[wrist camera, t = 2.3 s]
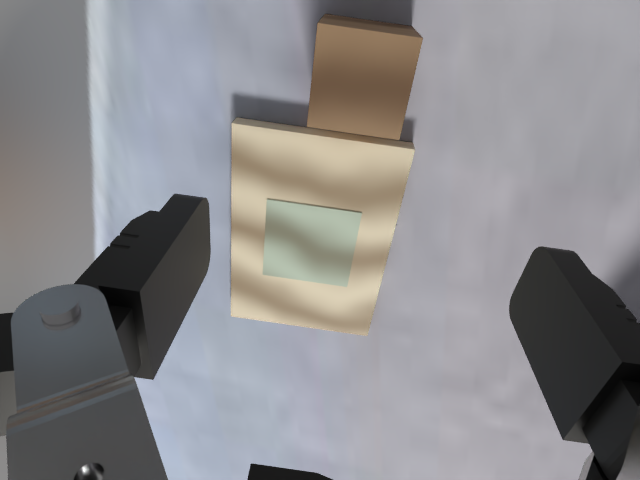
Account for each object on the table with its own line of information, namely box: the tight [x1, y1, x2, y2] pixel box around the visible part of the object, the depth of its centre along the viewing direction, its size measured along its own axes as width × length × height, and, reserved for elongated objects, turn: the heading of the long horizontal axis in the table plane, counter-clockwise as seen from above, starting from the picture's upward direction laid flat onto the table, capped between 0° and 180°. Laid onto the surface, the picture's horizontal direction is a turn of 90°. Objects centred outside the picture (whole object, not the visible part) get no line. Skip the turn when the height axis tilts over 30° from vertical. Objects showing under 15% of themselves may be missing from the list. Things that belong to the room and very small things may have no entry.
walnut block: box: [307, 14, 423, 140], centre depth 28 cm, size 6×6×6 cm
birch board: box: [231, 117, 415, 336], centre depth 38 cm, size 20×14×2 cm
